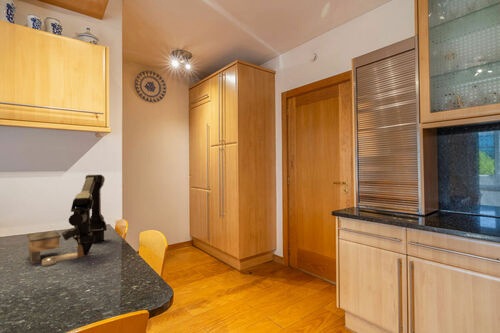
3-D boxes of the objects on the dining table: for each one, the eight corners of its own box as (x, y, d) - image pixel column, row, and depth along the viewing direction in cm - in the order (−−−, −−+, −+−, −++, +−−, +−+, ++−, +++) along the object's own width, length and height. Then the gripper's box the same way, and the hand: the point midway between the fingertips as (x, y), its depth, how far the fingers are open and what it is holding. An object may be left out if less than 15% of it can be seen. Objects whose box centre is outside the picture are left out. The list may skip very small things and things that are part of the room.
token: (57, 261, 117) (57, 256, 117) (54, 265, 112) (54, 259, 112) (43, 263, 115) (43, 257, 115) (40, 267, 110) (40, 261, 110)
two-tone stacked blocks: (87, 253, 127) (87, 243, 127) (87, 256, 123) (87, 245, 123) (45, 259, 119) (45, 249, 119) (44, 263, 114) (44, 252, 114)
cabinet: (55, 251, 131) (55, 230, 131) (60, 258, 121) (60, 235, 121) (27, 256, 123) (27, 234, 123) (30, 264, 113) (30, 240, 113)
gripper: (59, 221, 125) (59, 252, 125) (67, 227, 112) (67, 262, 112) (85, 218, 133) (85, 247, 133) (95, 223, 120) (95, 256, 120)
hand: (83, 253), depth 124 cm, fingers open, 9 cm apart
